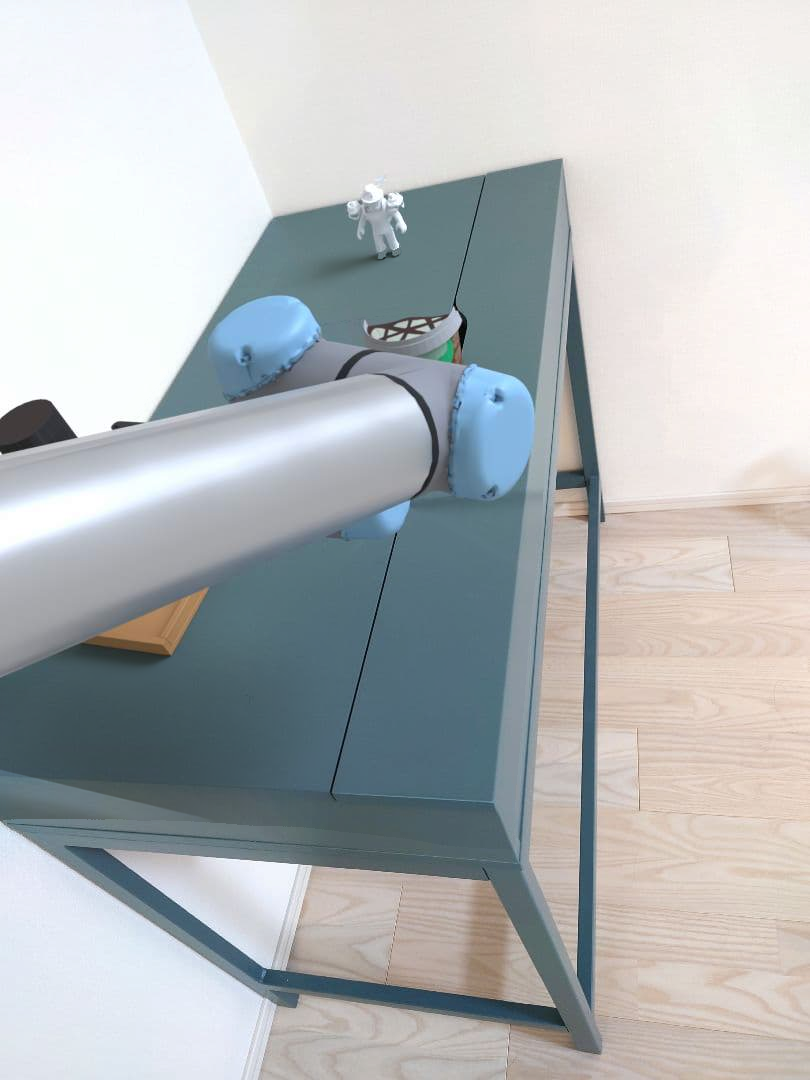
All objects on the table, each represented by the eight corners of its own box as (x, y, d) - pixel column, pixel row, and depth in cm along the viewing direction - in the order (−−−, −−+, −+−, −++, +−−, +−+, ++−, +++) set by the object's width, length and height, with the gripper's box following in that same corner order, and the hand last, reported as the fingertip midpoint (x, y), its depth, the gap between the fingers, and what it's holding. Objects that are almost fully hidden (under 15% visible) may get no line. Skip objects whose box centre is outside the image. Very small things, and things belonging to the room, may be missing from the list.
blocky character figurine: (417, 242, 128) (397, 168, 120) (414, 255, 126) (393, 181, 117) (364, 252, 131) (341, 180, 122) (360, 265, 128) (335, 193, 120)
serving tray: (171, 656, 83) (161, 644, 82) (79, 643, 88) (69, 632, 87) (223, 562, 91) (215, 550, 89) (136, 555, 96) (127, 543, 94)
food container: (374, 415, 101) (349, 350, 94) (383, 384, 105) (360, 320, 98) (470, 405, 97) (451, 336, 90) (475, 373, 101) (458, 305, 94)
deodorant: (76, 543, 80) (-21, 431, 70) (124, 506, 82) (37, 391, 72) (101, 568, 77) (4, 454, 66) (151, 529, 79) (64, 411, 68)
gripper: (198, 603, 64) (-9, 580, 73) (290, 441, 75) (100, 438, 84) (151, 542, 59) (-65, 525, 68) (258, 377, 70) (59, 382, 79)
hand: (27, 477), depth 76 cm, fingers closed on deodorant, 6 cm apart
